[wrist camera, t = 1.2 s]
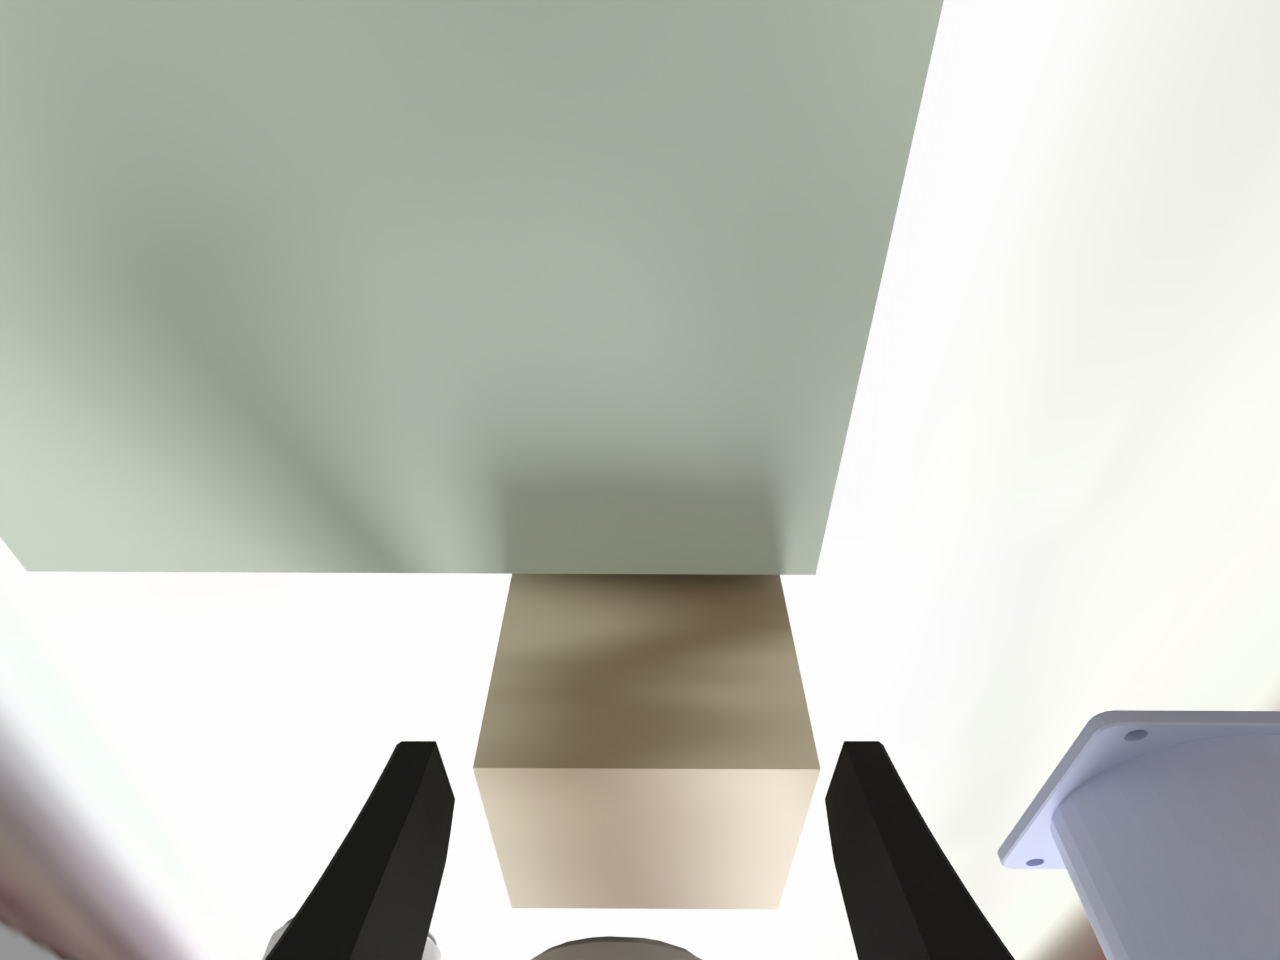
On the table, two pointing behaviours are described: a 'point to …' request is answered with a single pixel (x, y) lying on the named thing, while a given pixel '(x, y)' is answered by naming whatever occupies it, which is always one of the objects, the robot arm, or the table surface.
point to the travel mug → (616, 950)
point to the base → (441, 279)
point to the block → (646, 742)
